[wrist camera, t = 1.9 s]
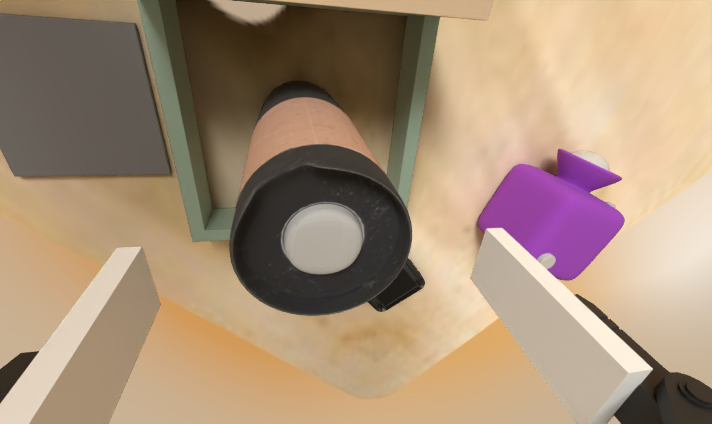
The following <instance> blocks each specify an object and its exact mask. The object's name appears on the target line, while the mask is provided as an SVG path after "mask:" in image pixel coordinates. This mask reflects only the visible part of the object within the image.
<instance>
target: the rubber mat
mask: <svg viewBox="0 0 712 424" xmlns="http://www.w3.org/2000/svg"><path fill="white" fill-rule="evenodd" d="M0 149H1V151H2V153H3V155H4V157H5V159H6V161H7V163H8V165H9V167H10V169H11V171H12V172H13V174H14V176H85V175H157V174H171V169H170V164H169V160H168V156H167V152H166V148H165V143H164V139H163V135H162V131H161V127H160V122H159V118H158V114H157V110H156V106H155V101H154V97H153V93H152V89H151V85H150V80H149V76H148V72H147V68H146V64H145V59H144V55H143V51H142V47H141V43H140V38H139V34H138V30H137V26H136V23H122V22H108V21H94V20H80V19H67V18H53V17H39V16H25V15H11V14H0Z"/></svg>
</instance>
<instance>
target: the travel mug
mask: <svg viewBox="0 0 712 424" xmlns="http://www.w3.org/2000/svg"><path fill="white" fill-rule="evenodd" d="M411 242H412V227H411V221H410V217H409V214H408V211H407V208H406V206H405V204H404V202H403V200H402V198H401V197H400V195H399V194H398V192H397V191H396V189H395V188H394V186H393V184H392V183H391V181H390V180H389V178H388V177H387V175H386V174H385V172H384V171H383V169H382V167H381V166H380V164H379V163H378V161H377V160H376V158H375V157H374V155H373V154H372V152H371V150H370V149H369V147H368V146H367V144H366V143H365V141H364V140H363V138H362V137H361V135H360V133H359V132H358V130H357V129H356V127H355V126H354V124H353V123H352V121H351V120H350V118H349V117H348V116H347V115H346V114H345V112H344V111H343V110H342V109H341V108H340V106H339V105H338V104H337V103H336V102H335V101H334V99H333V98H332V97H331V96H330V95H329V94H328V93H327V92H326V91H325V90H324V89H322V88H321V87H319V86H317V85H315V84H313V83H310V82H306V81H292V82H287V83H285V84H282V85H281V86H279V87H277V88H276V89H275V90H273V91H272V92H271V94H270V95H269V96H268V97H267V99H266V101H265V103H264V105H263V107H262V110H261V112H260V115H259V118H258V120H257V123H256V126H255V128H254V131H253V134H252V137H251V142H250V146H249V151H248V155H247V160H246V164H245V169H244V173H243V178H242V182H241V187H240V192H239V196H238V201H237V205H236V209H235V214H234V218H233V223H232V228H231V233H230V257H231V263H232V266H233V269H234V271H235V273H236V275H237V277H238V279H239V281H240V282H241V283H242V285H243V286H244V287H245V289H246V290H247V291H248V292H249V293H251V294H252V295H253V296H254V297H255V298H257V299H258V300H259V301H261V302H262V303H264V304H266V305H268V306H270V307H272V308H275V309H277V310H280V311H283V312H287V313H291V314H297V315H307V316H319V315H329V314H334V313H339V312H343V311H346V310H350V309H352V308H355V307H357V306H360V305H362V304H364V303H365V302H367V301H369V300H371V299H372V298H374V297H376V296H377V295H378V294H380V293H381V292H382V291H383V290H385V289H386V288H387V287H388V286H389V285H390V284H391V283H392V282H393V281H394V279H395V278H396V277H397V276H398V274H399V273H400V271H401V270H402V268H403V266H404V264H405V262H406V260H407V258H408V255H409V252H410V248H411Z"/></svg>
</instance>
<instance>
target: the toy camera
mask: <svg viewBox="0 0 712 424" xmlns="http://www.w3.org/2000/svg"><path fill="white" fill-rule="evenodd" d="M557 164H558V175H557V176H555V175H552V174H550V173H548V172H545V171H543V170H541V169H538V168H536V167H533V166H530V165H526V164H519V165H516V166H515V167H514V168H513V169H512V170H511V171H510V172H509V173H508V175H507V176H506V178H505V179H504V181H503V182H502V183H501V185H500V186H499V188H498V189H497V191H496V192H495V194H494V195H493V197H492V198H491V200H490V201H489V203H488V204H487V206H486V207H485V209H484V210H483V212H482V214H481V215H480V217H479V220H478V226H479V228H480V230H481V231H482V232H483V233H484V234H485V230H486V229H488V228H503V229H504V230H505V231H506V232H507V233H508V234H509V235H510V236H511V237H513V238H514V239H515V240H516V241H517V242H518V243H519V244H520V245H521V246H522V247H523V248H524V249H525V250H526V251H528V252H529V253H530V254H531V255H532V256H533V257H534V258H535V259H536V260H537V261H538V262H539V263H540V264H541V265H542V266H544V267H545V268H546V269H547V270H548V271H549V272H550V273H551V274H552V275H553V276H554V277H555V278H556V279H560V280H572V279H575V278H576V277H577V276H578V275H579V274H581V272H583V271H584V269H585V268H586V267H587V266H588V265H589V264H590V263H591V262H592V261H593V260H594V259H595V257H596V256H597V255H598V254H599V253H600V252H601V251H602V250H603V249H604V248H605V246H606V245H607V244H608V243H609V242H610V241H611V240H612V239H613V238H614V236H615V235H616V234H617V233H618V232H619V230H620V229H621V228H622V226H623V224H624V221H625V220H624V217H623V215H622V214H621V213H620V212H619V211H618V210H617V209H615V205H614V204H612V203H610V202H604V201H602V200H600V199H599V198H597V197H595V196H594V195H592V194H590V192H591V191H593V190H596V189H599V188H602V187H605V186H608V185H611V184H614V183H616V182H618V181H620V180H622V178H621V177H620V176H618V175H616V174H614V173H612V172H610V168H609V165H608V163H607V161H606V160H605V159H604V158H603V157H602V156H600V155H599V154H597V153H594V152H591V151H576V152H573V153H569V152H567V151H565V150H563V149H558V154H557Z"/></svg>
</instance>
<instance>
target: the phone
mask: <svg viewBox="0 0 712 424" xmlns="http://www.w3.org/2000/svg"><path fill="white" fill-rule="evenodd" d="M424 285H425V281H424V279H423V277H422V276H421V274H420V272H419V271H417V268H416V267H415V266H414V265H413V263H412V262H411V260H409V259H408V258H407V260H406V262H405V264H404V266H403V268H402V270H401V271H400V273H399V274H398V276H397V277H396V278H395V279H394V281H393V282H392V283H391V284H390V285H389V286H388V287H387V288H386V289H385V290H383V291H382V292H381V293H380V294H378V295H377V296H376V297H374V298H372V299H371V300H369V301H368V302H369V303H370V304H371V305H372V306H373V307H374V308H375V309H376V310H377V311H380V312H383V311H386V310H388V309H389V308H391V307H393V306H394V305H396V304H398V303H399V302H401V301H403V300H404V299H406V298H407V297H409V296H411V295H412V294H414V293H416V292H417V291H419V290H420V289H422V288H423V287H424Z"/></svg>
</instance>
